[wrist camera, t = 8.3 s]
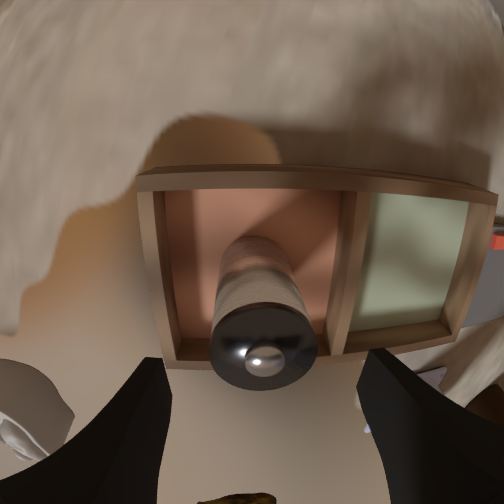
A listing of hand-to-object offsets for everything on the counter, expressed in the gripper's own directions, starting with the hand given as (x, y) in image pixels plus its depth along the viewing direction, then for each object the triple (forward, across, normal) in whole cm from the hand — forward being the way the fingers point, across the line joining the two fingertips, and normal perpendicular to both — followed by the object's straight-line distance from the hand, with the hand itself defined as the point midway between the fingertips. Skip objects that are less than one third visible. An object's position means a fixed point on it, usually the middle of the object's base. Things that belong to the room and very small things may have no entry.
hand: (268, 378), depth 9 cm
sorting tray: (+10, -5, 0) cm, 11 cm away
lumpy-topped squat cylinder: (+10, +28, +17) cm, 34 cm away
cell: (+8, 0, 0) cm, 9 cm away
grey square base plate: (+10, -22, +2) cm, 24 cm away
